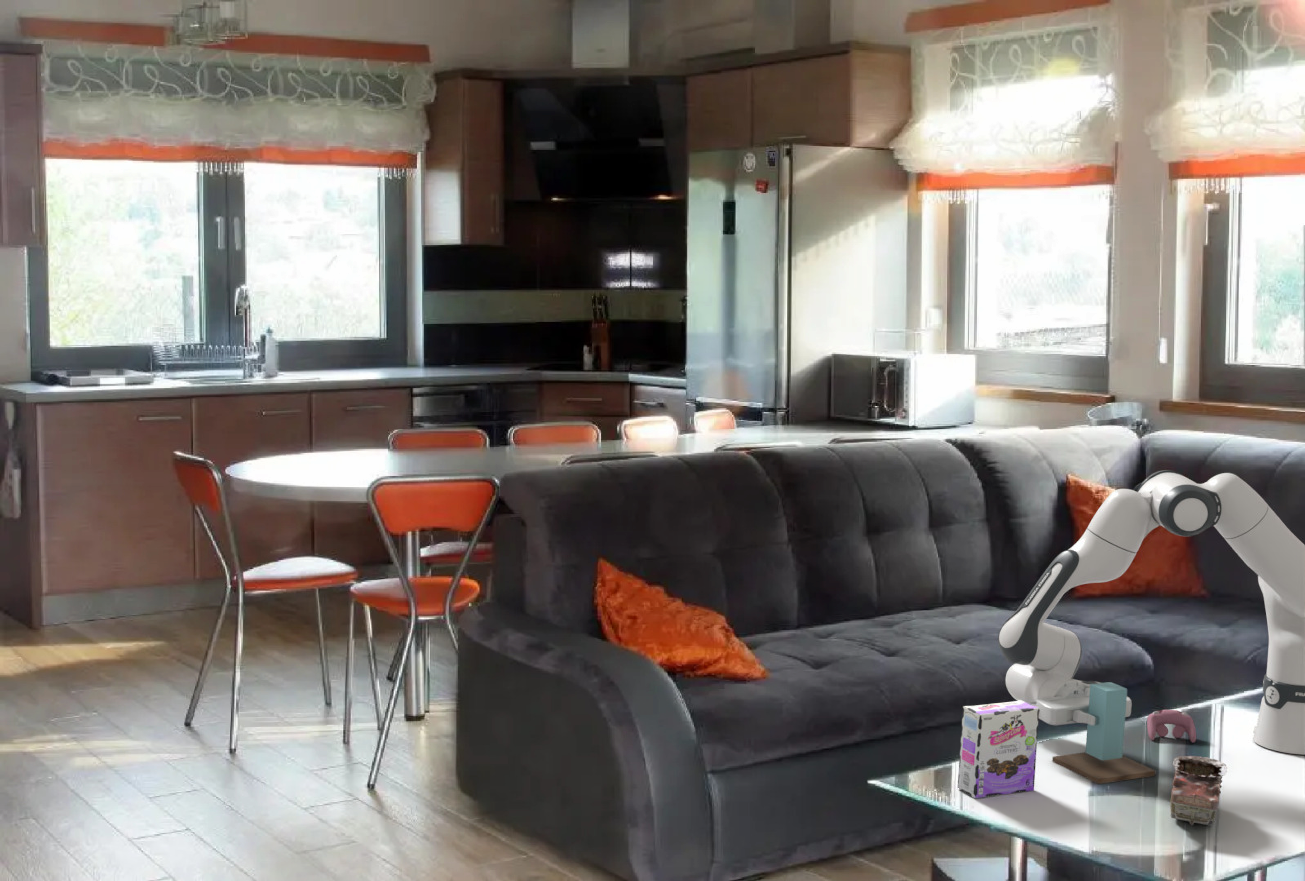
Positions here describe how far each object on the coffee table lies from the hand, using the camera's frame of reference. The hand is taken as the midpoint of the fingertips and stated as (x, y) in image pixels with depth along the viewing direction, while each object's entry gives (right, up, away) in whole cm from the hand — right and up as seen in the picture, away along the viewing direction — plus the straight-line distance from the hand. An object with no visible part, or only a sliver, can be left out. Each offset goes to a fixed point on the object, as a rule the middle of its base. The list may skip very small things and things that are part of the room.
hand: (1109, 719), depth 330 cm
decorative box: (+10, -14, -25) cm, 31 cm away
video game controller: (+19, -8, +23) cm, 31 cm away
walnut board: (-1, -10, +2) cm, 10 cm away
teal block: (-1, -7, +2) cm, 8 cm away
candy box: (-25, -12, -12) cm, 30 cm away
